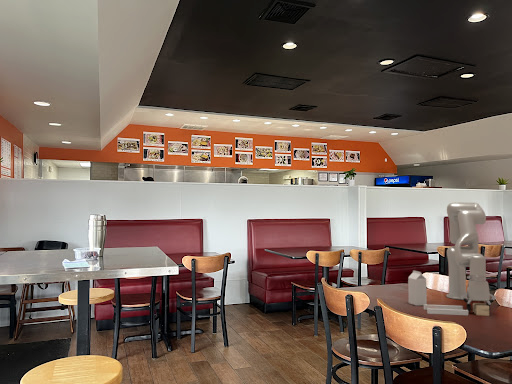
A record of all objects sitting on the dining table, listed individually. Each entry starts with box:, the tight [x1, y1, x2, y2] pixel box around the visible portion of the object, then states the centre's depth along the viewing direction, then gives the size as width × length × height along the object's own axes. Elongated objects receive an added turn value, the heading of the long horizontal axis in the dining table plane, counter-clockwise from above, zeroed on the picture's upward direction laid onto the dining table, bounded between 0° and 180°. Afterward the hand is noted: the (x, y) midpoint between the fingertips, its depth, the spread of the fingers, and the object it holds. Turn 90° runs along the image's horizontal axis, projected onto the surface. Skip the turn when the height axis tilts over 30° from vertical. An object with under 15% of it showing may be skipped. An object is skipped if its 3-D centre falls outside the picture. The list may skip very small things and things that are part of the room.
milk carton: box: [407, 269, 428, 306], centre depth 240 cm, size 7×7×19 cm
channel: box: [423, 304, 469, 316], centre depth 222 cm, size 10×20×2 cm, turn 80°
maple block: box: [472, 302, 490, 317], centre depth 219 cm, size 6×6×5 cm
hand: (478, 311), depth 219 cm, fingers open, 8 cm apart
